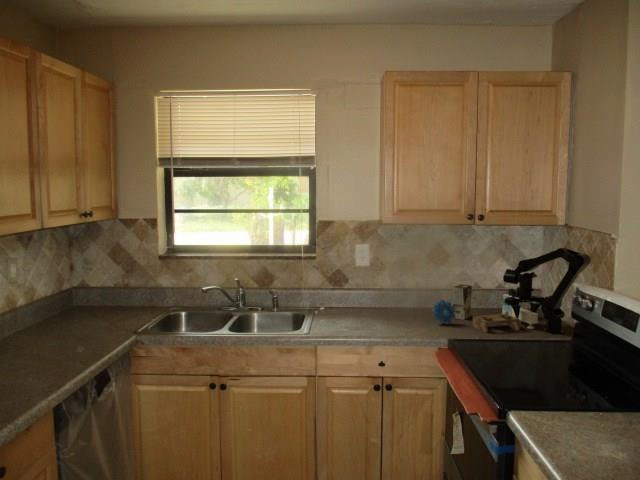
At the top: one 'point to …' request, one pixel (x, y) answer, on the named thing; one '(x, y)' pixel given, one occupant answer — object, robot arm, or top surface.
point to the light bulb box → (507, 308)
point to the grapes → (444, 311)
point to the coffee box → (462, 301)
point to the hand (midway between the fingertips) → (524, 318)
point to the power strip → (527, 317)
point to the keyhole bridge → (495, 321)
